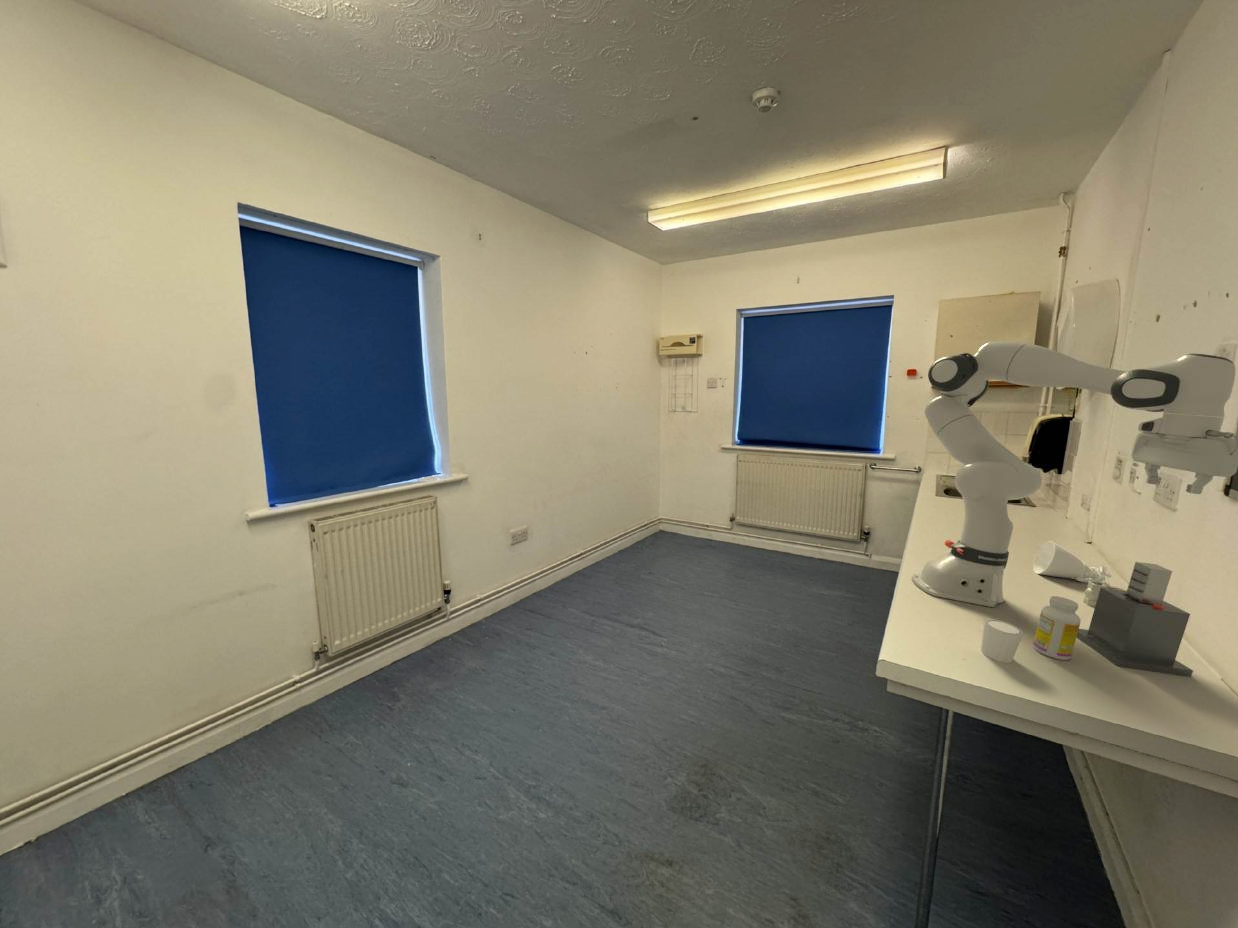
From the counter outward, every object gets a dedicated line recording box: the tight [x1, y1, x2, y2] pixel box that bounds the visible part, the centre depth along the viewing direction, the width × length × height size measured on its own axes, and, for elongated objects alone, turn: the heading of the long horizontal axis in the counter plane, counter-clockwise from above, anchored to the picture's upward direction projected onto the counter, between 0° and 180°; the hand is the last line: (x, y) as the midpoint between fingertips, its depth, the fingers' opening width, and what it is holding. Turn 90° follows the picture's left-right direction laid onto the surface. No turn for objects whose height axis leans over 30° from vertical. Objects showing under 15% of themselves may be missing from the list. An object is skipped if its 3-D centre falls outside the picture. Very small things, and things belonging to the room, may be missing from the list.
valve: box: [1082, 581, 1108, 608], centre depth 135 cm, size 7×7×12 cm
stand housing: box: [1076, 587, 1194, 678], centre depth 111 cm, size 14×14×14 cm
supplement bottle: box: [1032, 595, 1081, 661], centre depth 109 cm, size 7×7×13 cm
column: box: [1126, 561, 1173, 605], centre depth 110 cm, size 4×4×20 cm
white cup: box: [980, 618, 1024, 664], centre depth 107 cm, size 7×7×7 cm
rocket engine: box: [1032, 540, 1112, 588], centre depth 156 cm, size 12×12×18 cm
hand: (1172, 488), depth 110 cm, fingers open, 8 cm apart
